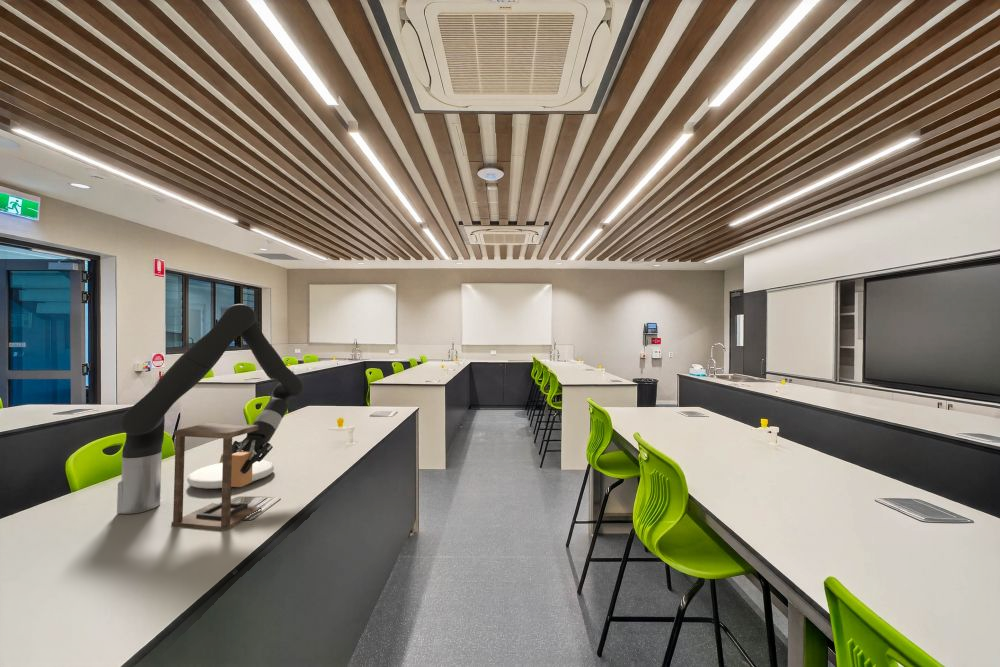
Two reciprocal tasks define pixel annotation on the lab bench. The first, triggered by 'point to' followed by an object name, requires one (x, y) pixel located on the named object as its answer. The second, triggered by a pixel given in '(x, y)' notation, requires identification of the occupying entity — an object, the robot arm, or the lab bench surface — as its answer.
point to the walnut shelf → (225, 511)
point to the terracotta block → (237, 463)
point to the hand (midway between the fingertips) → (235, 471)
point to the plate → (213, 474)
